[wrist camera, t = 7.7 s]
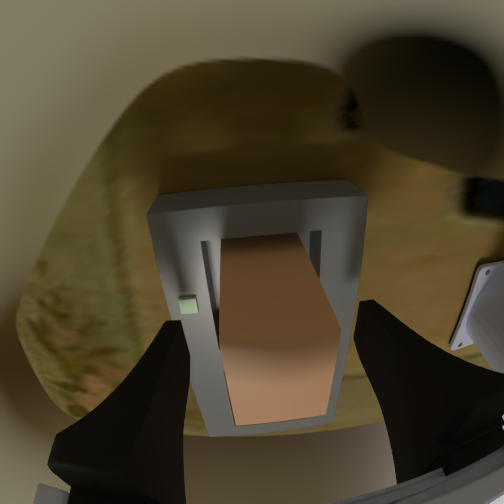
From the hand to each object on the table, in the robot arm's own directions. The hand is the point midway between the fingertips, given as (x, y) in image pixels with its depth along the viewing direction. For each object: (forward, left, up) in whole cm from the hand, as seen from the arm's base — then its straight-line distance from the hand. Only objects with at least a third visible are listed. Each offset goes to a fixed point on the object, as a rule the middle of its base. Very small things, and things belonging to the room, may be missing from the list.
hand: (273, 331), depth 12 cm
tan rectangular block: (0, 0, -4) cm, 4 cm away
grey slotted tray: (0, +4, -5) cm, 6 cm away
